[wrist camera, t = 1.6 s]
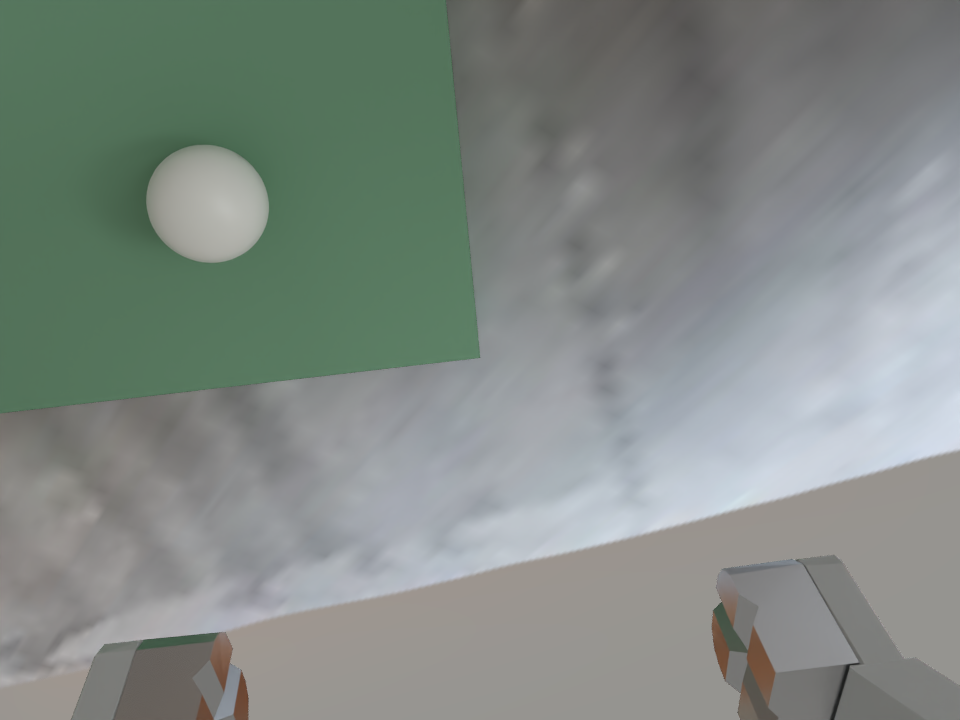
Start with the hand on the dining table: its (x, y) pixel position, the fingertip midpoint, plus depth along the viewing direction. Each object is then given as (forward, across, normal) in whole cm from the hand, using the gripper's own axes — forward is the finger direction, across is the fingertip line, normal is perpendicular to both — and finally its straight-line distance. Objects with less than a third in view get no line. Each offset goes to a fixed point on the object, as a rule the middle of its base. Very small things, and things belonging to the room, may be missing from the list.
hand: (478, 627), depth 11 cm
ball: (+17, +7, 0) cm, 18 cm away
